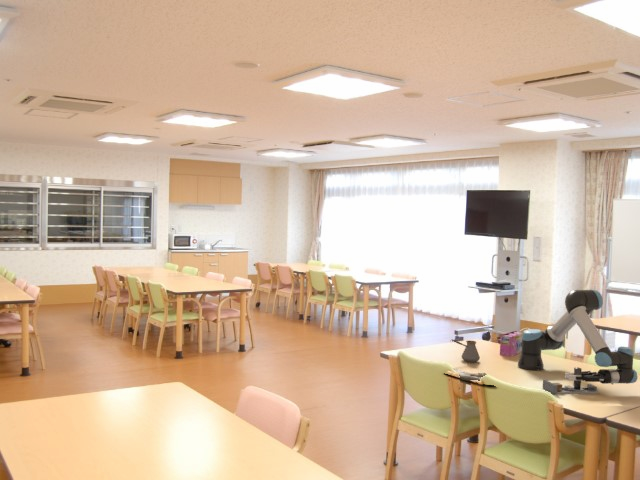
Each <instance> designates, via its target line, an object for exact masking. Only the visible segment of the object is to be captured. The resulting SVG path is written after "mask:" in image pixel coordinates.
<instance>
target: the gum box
mask: <svg viewBox="0 0 640 480" xmlns="http://www.w3.org/2000/svg"><path fill="white" fill-rule="evenodd" d="M522 333H523V332H518V331H517V330H515V331H514V330H513V331H510V332H507V333H503V334H500V343H499V345H500V346H499V355H500V356H506V357H514V356H516V355H518V354H521V351H522Z"/></svg>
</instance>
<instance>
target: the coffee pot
mask: <svg viewBox="0 0 640 480" xmlns="http://www.w3.org/2000/svg"><path fill="white" fill-rule="evenodd" d="M451 341H452V342H453V343H456V344H458V345H461V346H462V347H465V348H464V350H463V352H462V355H461V359H462V360H463V361H464V362H465V363H469V364H470V363H471V364H475V363H478V362H479V360H480V358H481V357H480V355H479V352H478V349H477V345H476V344H477V341H475V340H466V344H463V343H462V342H460V341H457V340H456V339H451V340H450V341H449V342H450V343H452V342H451Z"/></svg>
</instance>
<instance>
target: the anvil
mask: <svg viewBox="0 0 640 480" xmlns="http://www.w3.org/2000/svg"><path fill="white" fill-rule="evenodd" d="M553 383H554V382H551V381H549V380H547V379H542V389H543V390H545V391H546V390H547V391H546V392H548V391H549V392H548V393H550V392H551V393H550V394H552V395H553V394H557V385H555V384H553Z"/></svg>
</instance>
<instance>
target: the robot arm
mask: <svg viewBox="0 0 640 480" xmlns="http://www.w3.org/2000/svg"><path fill="white" fill-rule="evenodd" d="M564 300H565V301H564V304H565V308H566V311H565V313H564V314H563V315H562V316H561V317H560V318H559V319H558V320H557V321H556V322H555V323H554V324H553V325H549V326H548V327H547V328H546V329H545V330H541V329H538V328H537V329H536V328H529V329H525V330H523V331H522V332H521V333H522V351H521V353H520V356H519V359H518V361H517V367H518V368H520V369H523V370H528V371H529V370H530V371H542V370H544V361H543V358H542V351H547V350H548V351H551V350H552V351H555V350H559V349H561V348H562V347H563V346H564V345H565V335H566V334H568V333H569V331H571V329H573V328H574V327H575V325H577V326H578V328H579V329H580V331H581V332H582V333H583V335H584V338H585V339H586V340H587V342H588V344H589V345H590V347H591V349H592V351H593V352H594V354H595V356H594V362H595V364H596V365H597V366H598V367H603V368H601V369H599V370H598V371H597V372H596V371H593V372H592V371H591V370H587V371H585V370H584V371H581V375H574V372H564V379H568V381H574V380H581V382H582V381H583V382H586V383H589V382H590V383H591V382H592V383H600V384H605V385H606V384H610V385H614V384H628V385H629V384H634V383H636V382H637V380H638V377H639V376H638V375H637V371H636V370H635V369H633V364H634V349H633V348H632V347H628V346H619V347H618V348H617V351H611V349H610V348H609V346H608V344H607V343H606V341H605V339H604V338H603V336H602V334H601V333H600V332H599V330H598V328H597V327H596V325H595V323H594V322H593V320H592V318H591V317H590V314H591V313H592V312H593V311H597V310H600V309H601V308H602V307H603V305H604V299H603V296H602V294H601V293H600V291H598V290H597V289H592V288H591V289H574V290H571V291H569V292H568V293H567V295H566V297H565V298H564ZM604 367H605V369H604ZM608 367H616V368H608Z"/></svg>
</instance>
